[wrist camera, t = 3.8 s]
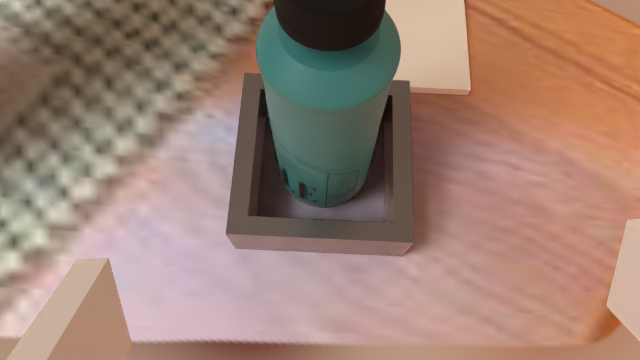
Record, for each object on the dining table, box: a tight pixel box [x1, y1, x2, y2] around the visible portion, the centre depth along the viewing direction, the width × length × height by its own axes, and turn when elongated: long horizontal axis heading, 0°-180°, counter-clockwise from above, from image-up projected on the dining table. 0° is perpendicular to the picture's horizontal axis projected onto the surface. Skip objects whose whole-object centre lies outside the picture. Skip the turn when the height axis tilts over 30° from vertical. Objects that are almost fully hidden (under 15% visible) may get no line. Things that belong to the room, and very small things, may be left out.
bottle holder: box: [226, 73, 414, 256], centre depth 33 cm, size 11×11×4 cm
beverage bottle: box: [256, 0, 401, 208], centre depth 26 cm, size 6×7×20 cm
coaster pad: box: [385, 0, 471, 95], centre depth 39 cm, size 14×11×1 cm
